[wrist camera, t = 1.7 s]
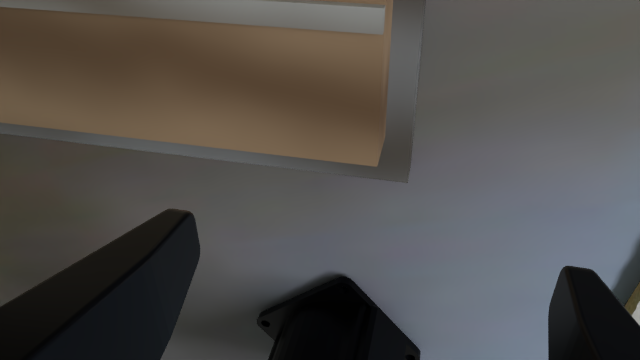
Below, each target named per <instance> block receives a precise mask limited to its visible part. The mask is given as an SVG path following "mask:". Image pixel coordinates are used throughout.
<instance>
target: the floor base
mask: <svg viewBox="0 0 640 360" xmlns="http://www.w3.org/2000/svg"><path fill="white" fill-rule="evenodd" d="M425 3H426V0H0V133H1V134H9V135H18V136H26V137H34V138H42V139H51V140H59V141H67V142H75V143H83V144H92V145H100V146H108V147H116V148H125V149H133V150H141V151H149V152H157V153H166V154H174V155H182V156H190V157H198V158H207V159H215V160H223V161H231V162H240V163H248V164H256V165H264V166H272V167H281V168H289V169H297V170H305V171H313V172H322V173H330V174H338V175H346V176H355V177H363V178H371V179H379V180H387V181H396V182H404V183H408V178H409V172H410V165H411V154H412V143H413V132H414V122H415V111H416V100H417V89H418V78H419V68H420V57H421V46H422V35H423V24H424V14H425Z"/></svg>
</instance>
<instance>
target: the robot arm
mask: <svg viewBox="0 0 640 360" xmlns="http://www.w3.org/2000/svg"><path fill="white" fill-rule="evenodd" d="M199 257H200V244H199V238H198V233H197V227H196V222H195V218H194V215H193V214H192V213H191V212H189V211H185V210H178V209H167V210H165V211H163V212H162V213H160V214H158V215H156V216H155V217H153V218H151V219H150V220H148V221H146V222H144V223H143V224H141V225H139V226H138V227H136V228H134V229H132V230H131V231H129V232H127V233H126V234H124V235H122V236H121V237H119V238H117V239H115V240H114V241H112V242H110V243H109V244H107V245H105V246H103V247H102V248H100V249H98V250H97V251H95V252H93V253H91V254H90V255H88V256H86V257H85V258H83V259H81V260H80V261H78V262H76V263H74V264H73V265H71V266H69V267H68V268H66V269H64V270H62V271H61V272H59V273H57V274H56V275H54V276H52V277H50V278H49V279H47V280H45V281H44V282H42V283H40V284H39V285H37V286H35V287H33V288H32V289H30V290H28V291H27V292H25V293H23V294H21V295H20V296H18V297H16V298H15V299H13V300H11V301H10V302H8V303H6V304H4V305H3V306H1V307H0V360H160V359H161V357H162V355H163V353H164V351H165V348H166V346H167V344H168V342H169V340H170V338H171V335H172V332H173V330H174V327H175V325H176V322H177V319H178V316H179V314H180V311H181V308H182V305H183V303H184V300H185V297H186V294H187V292H188V289H189V286H190V283H191V280H192V278H193V275H194V272H195V269H196V267H197V264H198V261H199ZM342 286H344V287H346V288H344V287H342ZM257 324H258V325H259V327H260V328H262V329H263V330H264V331H265V332H266V333H267V334H268V335H269V336H270V337H271V338H272V339H274V340H275V342H274V345H273V348H272V350H271V353H270V356H269V359H268V360H420V350H419V349H418V348H417V347H416V345H415V344H414V343H413V342H412V341H411V340H410V339H409V338H408V337H407V336H406V335H405V334H404V333H403V332H402V331H401V330H400V329H399V328H398V327H397V326H396V325H395V324H394V323H393V322H392V321H391V320H390V319H389V318H388V317H387V316H386V314H385V313H384V312H383V311H382V310H381V309H380V308H379V307H378V306H377V305H376V304H375V303H374V302H373V301H372V300H371V299H370V298H369V297H368V296H367V295H366V294H365V293H364V292H363V291H362V290H361V289H360V288H359V287H358V286H357V285H356V283H355V282H354V281H352V280H351V279H350V278H347V277H339V278H337V279H335V280H332V281H330V282H328V283H326V284H323V285H321V286H319V287H317V288H315V289H312V290H310V291H308V292H306V293H303V294H301V295H299V296H297V297H294V298H292V299H290V300H288V301H286V302H283V303H281V304H279V305H277V306H274V307H272V308H270V309H268V310H266V311H263V312H261V313H260V314H259V317H258V319H257ZM548 343H549V360H640V325H639V324H638V323H637V322H636V320H635V319H634V318H633V317H632V316H631V314H630V313H629V312H628V311H627V310H626V308H625V307H624V306H623V305H622V304H621V302H620V301H619V300H618V299H617V298H616V296H615V295H614V294H613V293H612V292H611V290H610V289H609V288H608V287H607V286H606V284H605V283H604V282H603V281H602V280H601V278H600V277H599V276H598V275H597V274H596V273H595V272H594V271H593V270H591V269H587V268H580V267H573V266H565V267H563V268H562V270H561V272H560V274H559V277H558V281H557V284H556V287H555V290H554V293H553V296H552V299H551V302H550V307H549V316H548Z"/></svg>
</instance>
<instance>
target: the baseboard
mask: <svg viewBox="0 0 640 360" xmlns="http://www.w3.org/2000/svg"><path fill="white" fill-rule="evenodd" d="M624 307H625V308H626V310H627V311H628V312H629V313H630V314H631V316H632V317H633V318H634V319H635V320H636V322H637V323H638V324H639V325H640V282H639V284H638V285H637V287H636V289H635V290H634V292H633V293H632V295H631V297H630V298H629V300H628V301H627V303H626V304H625V306H624Z"/></svg>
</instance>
